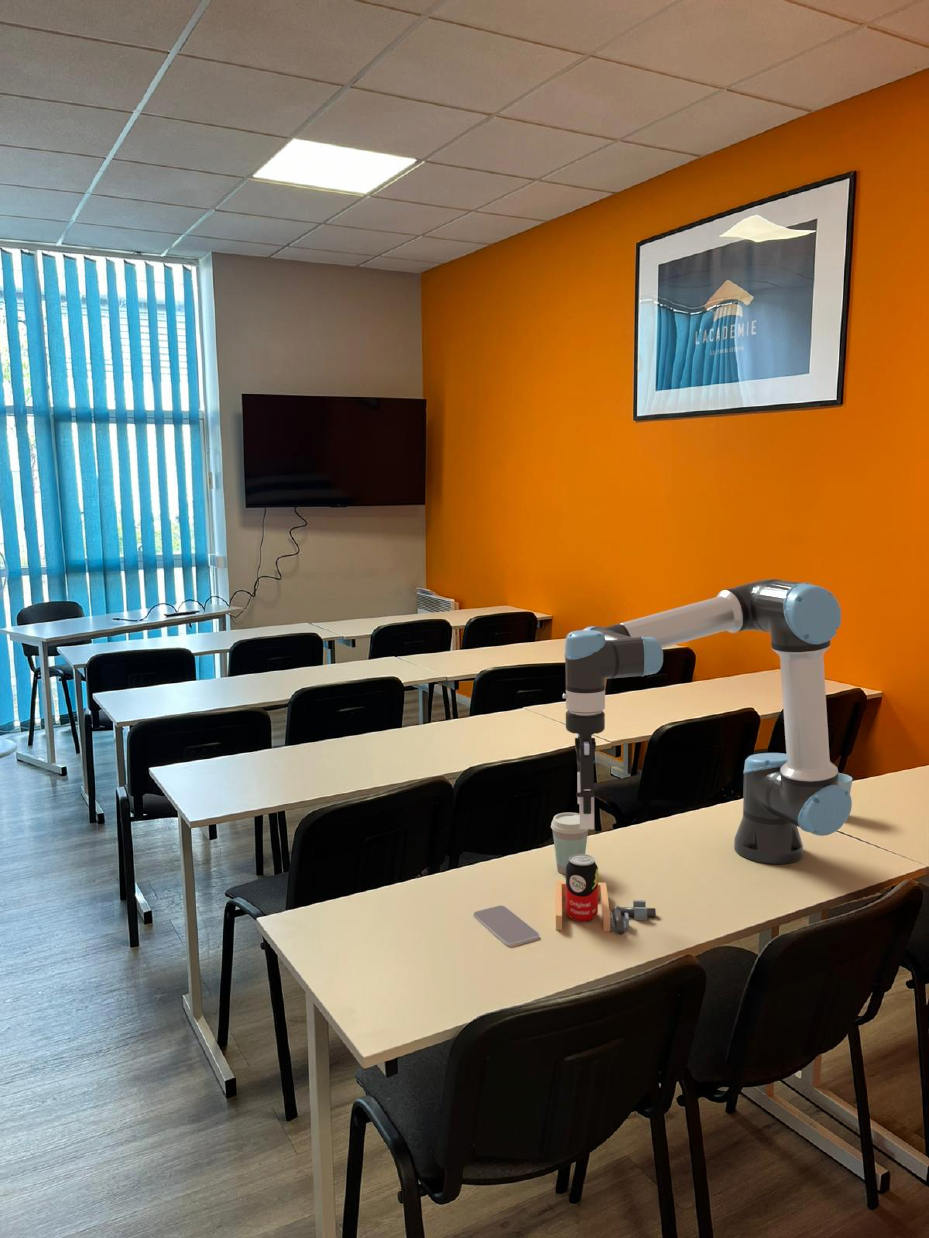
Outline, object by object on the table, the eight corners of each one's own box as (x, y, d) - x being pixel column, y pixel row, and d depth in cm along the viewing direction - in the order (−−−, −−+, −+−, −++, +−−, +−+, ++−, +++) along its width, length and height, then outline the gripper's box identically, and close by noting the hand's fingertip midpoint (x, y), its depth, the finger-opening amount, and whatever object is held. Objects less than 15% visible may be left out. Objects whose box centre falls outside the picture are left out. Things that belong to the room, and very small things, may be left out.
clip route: (654, 911, 180) (654, 900, 180) (659, 935, 170) (660, 924, 170) (607, 910, 181) (607, 899, 181) (610, 934, 171) (610, 922, 171)
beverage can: (560, 912, 181) (560, 855, 179) (587, 906, 183) (587, 850, 181) (576, 926, 175) (576, 868, 173) (603, 919, 177) (604, 862, 175)
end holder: (605, 896, 187) (605, 882, 187) (610, 931, 172) (610, 917, 172) (555, 894, 188) (555, 881, 188) (555, 929, 173) (555, 915, 173)
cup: (835, 823, 225) (837, 783, 224) (811, 813, 232) (813, 775, 230) (857, 818, 228) (859, 778, 227) (832, 809, 235) (834, 770, 234)
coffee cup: (588, 862, 204) (588, 811, 203) (590, 878, 196) (590, 825, 194) (551, 861, 205) (550, 811, 204) (550, 877, 197) (550, 825, 195)
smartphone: (503, 904, 184) (541, 935, 170) (503, 908, 184) (541, 939, 171) (471, 912, 180) (508, 944, 167) (471, 916, 180) (508, 949, 167)
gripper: (564, 695, 186) (565, 793, 189) (566, 727, 162) (567, 839, 165) (601, 695, 185) (601, 793, 189) (608, 727, 161) (608, 840, 164)
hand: (585, 815), depth 177 cm, fingers open, 13 cm apart
